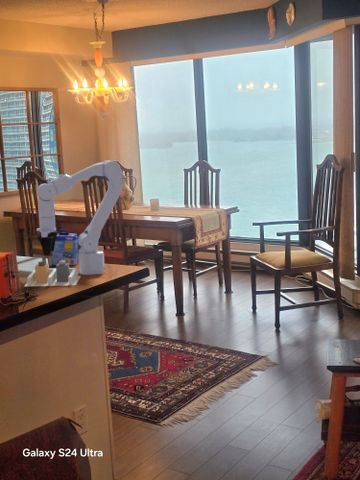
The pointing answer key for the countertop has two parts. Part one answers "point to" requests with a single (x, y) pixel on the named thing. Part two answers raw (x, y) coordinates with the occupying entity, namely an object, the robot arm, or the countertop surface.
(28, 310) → the countertop surface
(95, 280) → the countertop surface
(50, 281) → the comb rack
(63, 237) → the ink cartridge box
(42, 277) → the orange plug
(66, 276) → the charcoal plug
